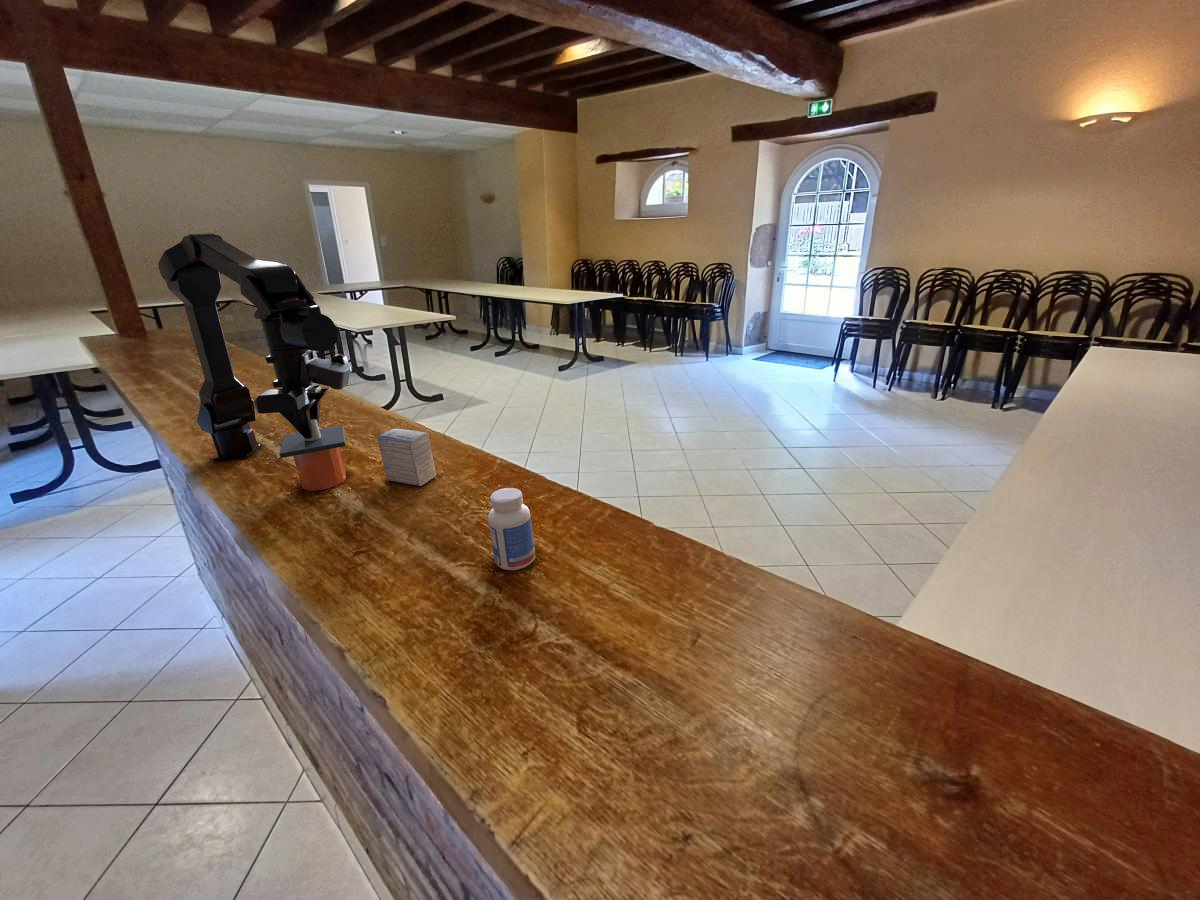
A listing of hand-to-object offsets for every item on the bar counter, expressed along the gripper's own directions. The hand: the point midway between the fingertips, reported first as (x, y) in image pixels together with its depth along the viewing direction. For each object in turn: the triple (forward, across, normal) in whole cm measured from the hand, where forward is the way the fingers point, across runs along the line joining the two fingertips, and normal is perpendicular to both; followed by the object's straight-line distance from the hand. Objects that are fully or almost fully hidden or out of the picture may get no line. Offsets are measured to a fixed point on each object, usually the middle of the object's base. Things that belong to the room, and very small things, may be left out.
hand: (311, 435), depth 96 cm
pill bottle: (+9, -31, -36) cm, 48 cm away
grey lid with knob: (+1, 0, 0) cm, 1 cm away
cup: (+9, 0, 0) cm, 9 cm away
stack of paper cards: (+9, -2, -16) cm, 19 cm away
